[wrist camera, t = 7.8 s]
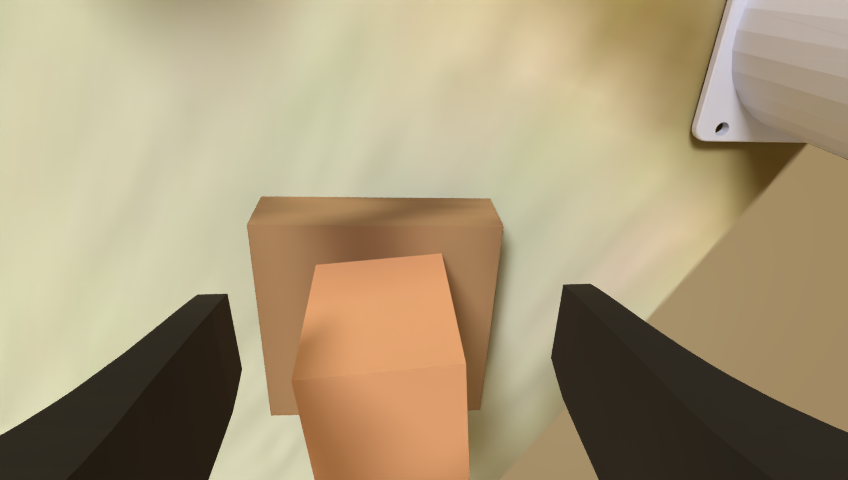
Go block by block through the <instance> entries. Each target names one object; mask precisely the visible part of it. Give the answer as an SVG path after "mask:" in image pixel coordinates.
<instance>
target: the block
mask: <svg viewBox="0 0 848 480" xmlns="http://www.w3.org/2000/svg"><path fill="white" fill-rule="evenodd" d="M247 229H248V237H249V245H250V253H251V261H252V269H253V277H254V285H255V292H256V300H257V308H258V316H259V324H260V332H261V340H262V348H263V356H264V364H265V371H266V379H267V387H268V395H269V403H270V411H271V415H299V412H298V407H297V403H296V399H295V395H294V391H293V387H292V382H291V379H292V375H293V370H294V365H295V361H296V356H297V351H298V346H299V342H300V337H301V332H302V328H303V323H304V318H305V314H306V309H307V304H308V299H309V295H310V290H311V285H312V281H313V276H314V271H315V266H316V265H320V264H331V263H342V262H353V261H364V260H375V259H385V258H396V257H407V256H418V255H429V254H440V253H442V257H443V261H444V266H445V270H446V275H447V279H448V284H449V288H450V293H451V298H452V302H453V307H454V311H455V316H456V320H457V325H458V329H459V334H460V338H461V343H462V348H463V352H464V357H465V361H466V380H467V410H480V406H481V398H482V390H483V383H484V375H485V367H486V359H487V351H488V343H489V335H490V327H491V320H492V312H493V304H494V296H495V288H496V280H497V272H498V264H499V257H500V249H501V241H502V233H503V224H502V222H501V220H500V218H499V216H498V214H497V212H496V210H495V208H494V206H493V204H492V202H491V200H490V199H467V198H361V197H261V198H260V200H259V202H258V204H257V206H256V208H255V210H254V212H253V214H252V216H251V218H250V220H249V222H248V224H247Z"/></svg>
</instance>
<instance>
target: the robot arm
mask: <svg viewBox="0 0 848 480" xmlns="http://www.w3.org/2000/svg"><path fill="white" fill-rule="evenodd" d="M722 122H723V127H722V129H721V130H720V131H719V132H716V133H715V129H716V127H717V125H719V124H720V123H722ZM692 133H693V136H695V137H696V138H697V139H699V140H701V141H712V142H796V143H809V144H811V145H813V146H816V147H818V148H821V149H823V150H826V151H828V152H830V153H833V154H835V155H838V156H840V157H842V158H845V159H847V160H848V0H727V4H726V7H725V11H724V14H723V18H722V21H721V25H720V29H719V32H718V36H717V39H716V43H715V46H714V50H713V54H712V57H711V61H710V64H709V68H708V71H707V75H706V78H705V82H704V86H703V89H702V93H701V96H700V100H699V103H698V107H697V111H696V114H695V118H694V121H693V125H692ZM551 359H552V362H553V366H554V370H555V373H556V377H557V381H558V384H559V387H560V390H561V394H562V397H563V400H564V402H565V404H566V407H567V409H568V411H569V414H570V416H571V418H572V420H573V423H574V425H575V427H576V430H577V432H578V434H579V436H580V438H581V441H582V443H583V445H584V448H585V450H586V452H587V454H588V456H589V459H590V461H591V463H592V465H593V467H594V470H595V472H596V474H597V476H598V479H599V480H848V432H845V431H843V430H841V429H838V428H836V427H833V426H831V425H829V424H827V423H824V422H822V421H820V420H818V419H816V418H813V417H811V416H809V415H807V414H805V413H802V412H800V411H798V410H796V409H794V408H791V407H789V406H787V405H785V404H783V403H781V402H779V401H777V400H775V399H773V398H771V397H769V396H767V395H765V394H763V393H761V392H759V391H758V390H756V389H754V388H752V387H750V386H748V385H746V384H744V383H743V382H741V381H739V380H737V379H735V378H733V377H731V376H730V375H728V374H726V373H724V372H723V371H721V370H719V369H717V368H716V367H714V366H712V365H711V364H709V363H707V362H706V361H704V360H703V359H701V358H699V357H698V356H696V355H695V354H693V353H691V352H690V351H688V350H687V349H685V348H683V347H682V346H680V345H679V344H677V343H676V342H674V341H673V340H671V339H670V338H668V337H667V336H665V335H664V334H662V333H661V332H659V331H658V330H657V329H655V328H654V327H652V326H651V325H649V324H648V323H646V322H645V321H644V320H642V319H641V318H639V317H638V316H637V315H635V314H634V313H632V312H631V311H630V310H628V309H627V308H625V307H624V306H623V305H621V304H620V303H618V302H617V301H616V300H614V299H613V298H611V297H610V296H608V295H607V294H605V293H604V292H603V291H601V290H600V289H598V288H596V287H595V286H593V285H591V284H570V285H563V290H562V296H561V302H560V308H559V314H558V320H557V325H556V331H555V337H554V343H553V349H552V355H551ZM241 371H242V367H241V361H240V356H239V351H238V346H237V341H236V336H235V331H234V325H233V320H232V315H231V310H230V305H229V300H228V294H205V295H197V296H195V297H194V298H192V299H191V300H190V301H188V302H187V303H186V304H185V305H183V306H182V307H181V308H180V309H178V310H177V311H176V312H175V313H173V314H172V315H171V316H170V317H168V318H167V319H166V320H165V321H164V322H162V323H161V324H160V325H159V326H157V327H156V328H155V329H154V330H152V331H151V332H150V333H149V334H147V335H146V336H145V337H144V338H142V339H141V340H140V341H139V342H137V343H136V344H135V345H134V346H132V347H131V348H130V349H129V350H127V351H126V352H125V353H123V354H122V355H121V356H119V357H118V358H117V359H115V360H114V361H113V362H111V363H110V364H108V365H107V366H106V367H104V368H103V369H102V370H100V371H99V372H98V373H96V374H95V375H93V376H92V377H91V378H89V379H88V380H87V381H85V382H84V383H83V384H81V385H80V386H78V387H77V388H75V389H74V390H73V391H71V392H70V393H68V394H67V395H65V396H64V397H62V398H61V399H59V400H58V401H56V402H55V403H53V404H51V405H50V406H48V407H47V408H45V409H44V410H42V411H40V412H39V413H37V414H35V415H34V416H32V417H31V418H29V419H27V420H26V421H24V422H23V423H21V424H19V425H18V426H16V427H14V428H13V429H11V430H9V431H7V432H6V433H4V434H2V435H0V480H208V479H209V477H210V474H211V471H212V468H213V466H214V463H215V460H216V457H217V455H218V452H219V449H220V447H221V444H222V441H223V438H224V435H225V433H226V430H227V427H228V424H229V421H230V418H231V416H232V413H233V408H234V404H235V400H236V396H237V391H238V386H239V381H240V376H241Z"/></svg>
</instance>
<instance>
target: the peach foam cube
mask: <svg viewBox="0 0 848 480" xmlns="http://www.w3.org/2000/svg"><path fill="white" fill-rule="evenodd" d="M291 382H292V387H293V391H294V395H295V399H296V403H297V407H298V412H299V416H300V420H301V424H302V428H303V433H304V437H305V441H306V445H307V449H308V453H309V458H310V462H311V466H312V470H313V474H314V479H315V480H469V446H468V413H467V380H466V361H465V357H464V352H463V348H462V343H461V338H460V334H459V329H458V325H457V320H456V316H455V311H454V307H453V302H452V298H451V293H450V288H449V284H448V279H447V275H446V270H445V266H444V261H443V257H442V253H440V254H429V255H418V256H407V257H396V258H385V259H375V260H364V261H353V262H342V263H331V264H320V265H316V266H315V271H314V276H313V281H312V285H311V290H310V295H309V299H308V304H307V309H306V314H305V318H304V323H303V328H302V332H301V337H300V342H299V346H298V351H297V356H296V361H295V365H294V370H293V375H292V379H291Z"/></svg>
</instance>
